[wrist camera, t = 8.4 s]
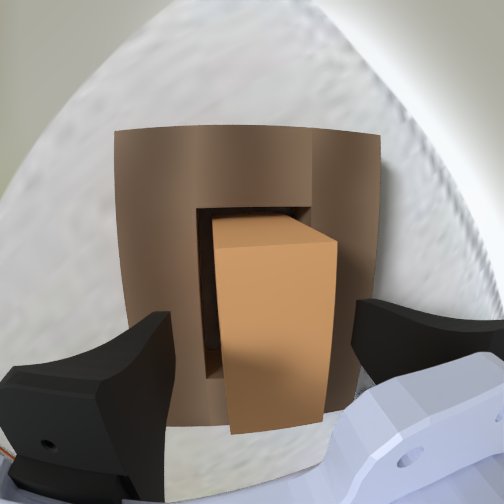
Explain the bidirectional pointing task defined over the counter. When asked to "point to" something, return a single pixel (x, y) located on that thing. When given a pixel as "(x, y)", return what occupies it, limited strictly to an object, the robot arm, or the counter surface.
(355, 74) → the counter surface
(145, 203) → the keyed socket
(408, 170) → the counter surface
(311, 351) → the keyed peg
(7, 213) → the counter surface
